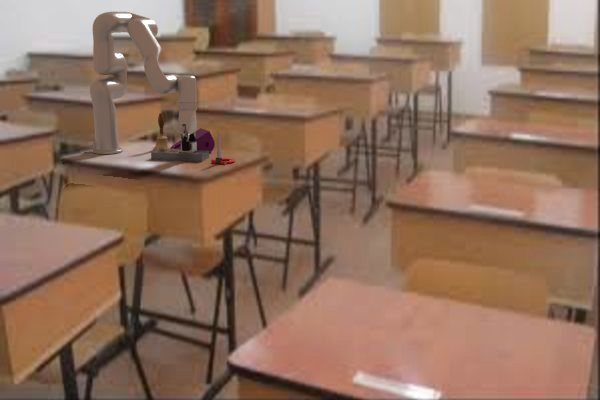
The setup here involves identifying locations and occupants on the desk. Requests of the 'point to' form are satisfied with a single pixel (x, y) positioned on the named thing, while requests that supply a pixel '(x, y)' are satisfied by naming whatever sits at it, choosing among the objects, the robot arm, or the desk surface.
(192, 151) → the white cylinder
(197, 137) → the mounting bracket
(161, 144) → the hand bell
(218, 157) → the red scissors
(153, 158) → the grey tray
